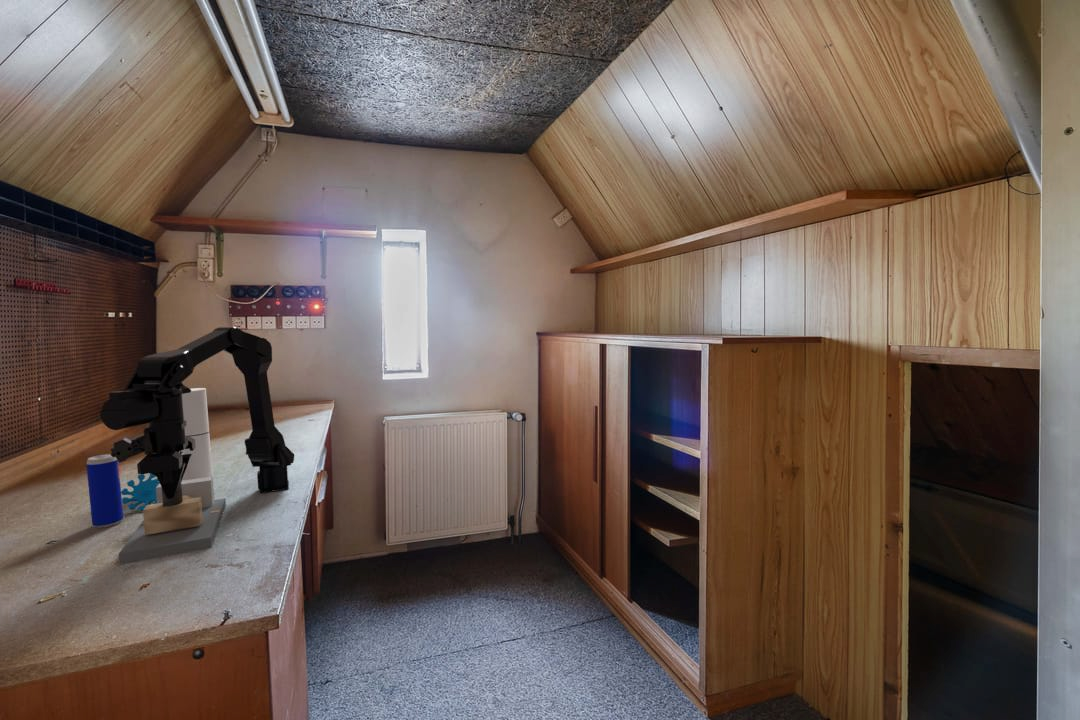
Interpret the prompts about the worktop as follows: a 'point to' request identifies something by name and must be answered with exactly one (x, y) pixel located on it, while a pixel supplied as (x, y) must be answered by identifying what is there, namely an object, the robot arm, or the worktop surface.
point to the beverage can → (104, 490)
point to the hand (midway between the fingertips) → (172, 495)
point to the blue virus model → (141, 492)
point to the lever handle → (172, 513)
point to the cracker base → (182, 538)
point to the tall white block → (197, 434)
